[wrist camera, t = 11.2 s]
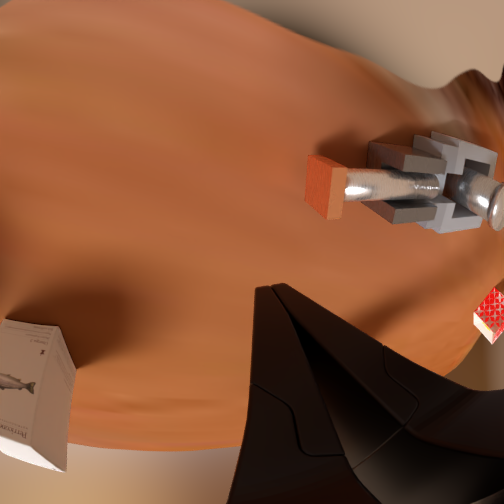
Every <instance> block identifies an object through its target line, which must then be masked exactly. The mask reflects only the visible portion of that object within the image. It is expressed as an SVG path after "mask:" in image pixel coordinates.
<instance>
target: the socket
mask: <svg viewBox="0 0 504 504" xmlns="http://www.w3.org/2000/svg"><path fill="white" fill-rule="evenodd" d="M413 147H414V148H417V149H419V150H422V151H425V152H427V153H430V154H432V155H435V156H437V157H440V158H442V159H445V160H447V166H446V171H445V175H441V174H434V175H435V176H436V177H437V178H438V181H439V185H440V189H439V193H438V195H437V196H436V197H435V198H434V199H425V200H427V201H429V202H430V203H432V204H434V205H435V206H437V207H438V208H437V211H436V215H435V219H434V220H430V221H420V222H416V223H417V224H419V225H420V226H422V227H423V228H425V229H430V228H432V229H433V230H435V231H436V232H437V233H439V234H440V233H447V232H453V231H459V230H466V229H472V228H478V227H480V225H481V222H482V219H483V218H482V217H480V216H478V215H477V214H475V213H474V212H472V211H470V210H469V209H467V208H466V207H464V206H462V205H461V204H459V203H455V202H453V201H452V200H450V199H448V198H446V197H445V196H443V195H442V193H443V189H444V184H445V179H446V175H447V173H452V174H460V175H462V173H463V168H464V163H465V158H466V163H465V166H467V167H469V168H471V169H473V170H475V171H477V172H480V173H482V174H484V175H486V176H488V177H490V178H492V179H493V176H494V171H495V166H496V161H497V155H498V153H496V152H494V151H492V150H489V149H487V148H484V147H482V146H479V145H477V144H474V143H471V142H468V141H465V140H462V139H459V138H455V137H452V136H449V135H445V134H441V133H438V132H434V131H432V133H431V138H429V137H425V136H420V135H415V134H414V141H413Z"/></svg>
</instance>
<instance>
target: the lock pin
mask: <svg viewBox="0 0 504 504" xmlns="http://www.w3.org/2000/svg"><path fill="white" fill-rule="evenodd" d="M439 189H440V185H439V181H438V178H437V177H436V176H435V175H434V174H430V173H419V172H404V171H401V170H385V169H359V168H347V167H345V166H343V165H341V164H339V163H337V162H335V161H333V160H330V159H328V158H326V157H324V156H322V155H308V164H307V178H306V191H305V201H306V202H307V203H308V204H309V205H310V206H311V207H313V208H314V209H315V210H316V211H317V212H318V213H319V214H320V215H322V216H323V217H324V218H325V219H326V220H332V219H341V214H342V207H343V202H353V201H375V200H405V199H434V198H435V197H436V196H437V195H438V193H439Z"/></svg>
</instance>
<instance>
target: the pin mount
mask: <svg viewBox="0 0 504 504" xmlns="http://www.w3.org/2000/svg"><path fill="white" fill-rule="evenodd" d="M446 166H447V160H445V159H442V158H440V157H437V156H435V155H432V154H430V153H427V152H425V151H422V150H419V149H417V148H414V147H409V146H402V145H395V144H387V143H379V142H369V148H368V157H367V165H366V169H385V170H401V171H404V172H419V173H430V174H441V175H445V171H446ZM361 203H363V204H364V205H366V206H367V207H369V208H370V209H372V210H373V211H374V212H376V213H377V214H379V215H380V216H381V217H383V218H384V219H386V220H387V221H388V222H390V223H391V224H400V223H410V222H420V221H430V220H434V219H435V215H436V211H437V208H438V207H437V206H435V205H434V204H432V203H430V202H429V201H427V200H425V199H405V200H375V201H361Z"/></svg>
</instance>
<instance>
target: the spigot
mask: <svg viewBox="0 0 504 504" xmlns="http://www.w3.org/2000/svg"><path fill="white" fill-rule="evenodd" d="M442 194H443V195H445V196H447V197H448V198H450V199H452V200H454V201H455V202H457V203H459V204H461V205H462V206H464V207H466V208H467V209H469V210H470V211H472V212H474V213H475V214H477V215H478V216H480V217H482V218H483V219H485V220H486V221H488V224H489V226H490V227H491V228H493V229H494V230H496V231H499V230H501V229H502V228H503V227H504V182H502V183H499V182H497V181H495V180H494V179H492V178H490V177H488V176H486V175H484V174H482V173H480V172H477V171H475V170H473V169H471V168H469V167H467V166H464V168H463V173H462V175H460V174H452V173H447V175H446V179H445V184H444V189H443V193H442Z"/></svg>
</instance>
